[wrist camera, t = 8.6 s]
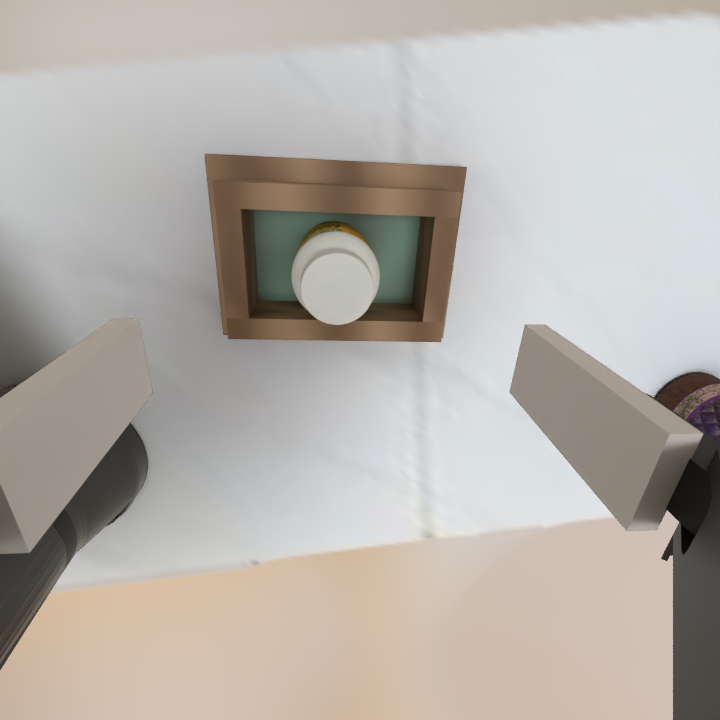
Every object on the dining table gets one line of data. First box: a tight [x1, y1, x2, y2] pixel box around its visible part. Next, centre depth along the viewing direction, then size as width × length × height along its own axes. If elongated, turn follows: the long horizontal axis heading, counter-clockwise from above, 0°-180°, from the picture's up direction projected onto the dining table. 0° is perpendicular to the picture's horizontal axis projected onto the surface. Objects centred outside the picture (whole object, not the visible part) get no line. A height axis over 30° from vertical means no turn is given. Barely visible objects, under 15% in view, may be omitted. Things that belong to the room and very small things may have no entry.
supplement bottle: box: [291, 221, 380, 325], centre depth 26 cm, size 5×5×10 cm
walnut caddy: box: [205, 154, 467, 342], centre depth 29 cm, size 18×13×6 cm
